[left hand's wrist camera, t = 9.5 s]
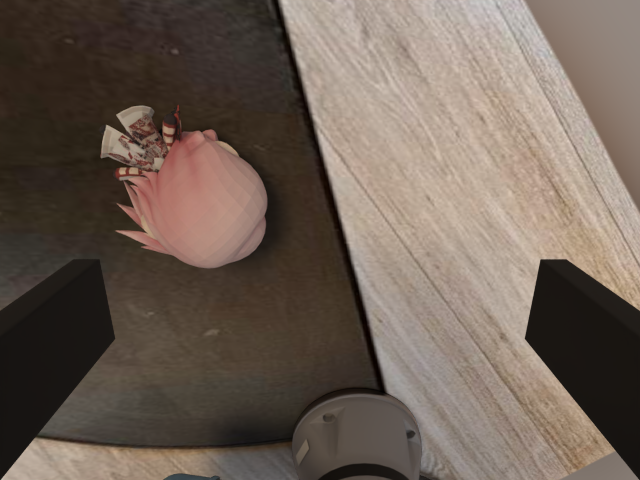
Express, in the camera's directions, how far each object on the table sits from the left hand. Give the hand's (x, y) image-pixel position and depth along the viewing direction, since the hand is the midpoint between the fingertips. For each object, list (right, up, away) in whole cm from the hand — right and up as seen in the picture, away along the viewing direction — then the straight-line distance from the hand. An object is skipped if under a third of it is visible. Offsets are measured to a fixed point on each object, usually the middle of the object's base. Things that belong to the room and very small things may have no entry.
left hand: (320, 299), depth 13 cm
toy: (-12, +7, +27) cm, 30 cm away
